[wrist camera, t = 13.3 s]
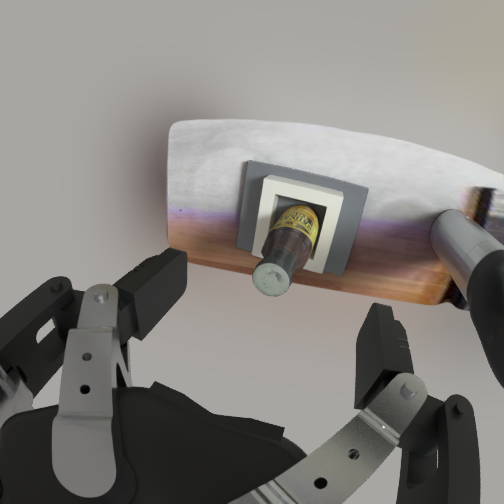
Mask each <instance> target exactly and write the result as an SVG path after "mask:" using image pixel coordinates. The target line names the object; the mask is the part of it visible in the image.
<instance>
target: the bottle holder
mask: <svg viewBox="0 0 504 504" xmlns="http://www.w3.org/2000/svg"><path fill="white" fill-rule="evenodd" d="M368 191H369V189H368V188H366V187H363V186H359V185H356V184H352V183H349V182H345V181H341V180H338V179H334V178H330V177H326V176H322V175H318V174H314V173H309V172H305V171H301V170H296V169H292V168H287V167H282V166H278V165H273V164H268V163H262V162H257V161H252V160H250V161H248V164H247V171H246V178H245V185H244V192H243V200H242V207H241V214H240V222H239V229H238V236H237V244H236V248H240V249H243V250H247V251H251V252H252V255H253V256H257V257H261V258H263V256H262V253H261V250H262V247H263V245H264V242H265V240H266V237H267V235H268V233H269V232H270V230H271V229H272V228H273V227H274V225H275V224H276V223H277V221H278V220H279V219H280V217H281V216H282V215H283V213H284V212H285V211H286V210H287V209H288V208H290V207H292V206H296V205H300V204H302V205H306V206H308V207H310V208H312V209H313V210H314V211H315V212H316V214H317V216H318V218H319V229H318V233H317V236H316V240H315V243H314V246H313V249H312V252H311V255H310V256H309V259H308V261H307V263H306V264H305V266H304V267H303V268H302V269H305V270H309V271H313V272H316V273H320V274H322V273H323V271H326V272H329V273H333V274H337V275H341V276H343V273H344V270H345V267H346V264H347V261H348V258H349V255H350V252H351V249H352V246H353V243H354V239H355V236H356V233H357V230H358V226H359V223H360V220H361V216H362V213H363V209H364V205H365V202H366V198H367V194H368Z"/></svg>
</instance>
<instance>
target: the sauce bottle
mask: <svg viewBox="0 0 504 504" xmlns="http://www.w3.org/2000/svg"><path fill="white" fill-rule="evenodd" d="M318 229H319V218H318V216H317V214H316V212H315V211H314V210H313V209H312V208H310V207H308V206H306V205H302V204H300V205H296V206H292V207H290V208H288V209H287V210H286V211H285V212H284V213H283V215H282V216H281V217H280V219H279V220H278V221H277V223H276V224H275V225H274V227H273V228H272V229H271V230H270V232H269V233H268V235H267V237H266V240H265V242H264V245H263V247H262V250H261V253H262V256H263V260H261V261H260V262H259V263H258V264H257V266H256V268H255V270H254V272H253V276H252V278H253V283H254V285H255V287H256V288H257V289H258V290H259V291H260V292H261V293H263V294H265V295H267V296H280V295H282V294H283V293H285V292H286V291H287V290H288V288H289V286H290V285H291V283H292V274H294V273H297V272H298V271H300V270H301V269H302V268H303V267H304V266H305V264H306V263H307V261H308V259H309V256H310V255H311V252H312V249H313V246H314V243H315V240H316V236H317V233H318Z"/></svg>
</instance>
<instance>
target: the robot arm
mask: <svg viewBox="0 0 504 504" xmlns="http://www.w3.org/2000/svg"><path fill="white" fill-rule="evenodd" d="M430 243H431V246H432V248H433V250H434V251H435V253H436V254H437V256H438V257H439V258H440V260H441V262H442V263H443V264H444V266H445V267H446V269H447V270H448V272H449V273H450V275H451V276H452V278H453V280H454V281H455V283H456V284H457V286H458V288H459V289H460V291H461V292H462V294H463V296H464V297H465V299H466V301H467V302H468V304H469V306H470V315H471V318H472V321H473V323H474V326H475V328H476V330H477V332H478V335H479V338H480V340H481V343H482V346H483V349H484V352H485V354H486V357H487V359H488V362H489V364H490V367H491V369H492V371H493V373H494V375H495V377H496V378H497V380H498V382H499V383H500V384H501V386H502V387H503V388H504V246H503V245H502V244H501V243H500V242H499V241H497V240H496V239H495V238H494V237H493V236H492V235H490V234H489V233H488V232H487V231H486V230H484V229H483V228H482V227H481V226H480V225H478V224H477V223H476V222H474V221H473V220H472V219H471V218H469V217H468V216H467V215H465V214H464V213H463V212H461V211H459V210H454V209H453V210H448V211H445V212H443V213H442V214H440V215H439V216H438V217H437V218H436V220H435V221H434V223H433V225H432V228H431V232H430ZM186 285H187V253H186V252H185V251H181V250H178V249H174V248H168V249H166V250H165V251H164V252H162V253H161V254H160V255H155V256H153V257H150V258H147V259H146V260H144V261H143V262H142V263H141V264H139V266H136V267H135V268H134V269H133V271H132V270H131V271H130V272H128V273H127V274H126V275H125V276H123V277H122V278H121V279H119V280H118V281H117V282H116V283H114V284H113V285H109V284H98V285H95V286H92V287H90V288H89V289H88V290H87V291H86V292H84V291H78V290H73V288H72V284H71V281H70V280H69V279H68V278H67V277H63V276H59V277H54V278H51V279H49V280H48V281H46V282H45V283H43V284H42V285H41V286H40V287H38V288H37V289H36V290H34V291H33V292H32V293H30V294H29V295H28V296H27V297H25V298H24V299H23V300H22V301H21V302H19V303H18V304H17V305H16V306H14V307H13V308H12V309H11V310H10V311H8V312H7V313H6V314H5V315H4V316H3V317H1V318H0V504H342V503H343V502H344V501H345V500H346V499H347V498H349V497H350V496H351V495H352V494H353V493H354V492H355V491H356V490H357V489H358V488H359V487H360V486H361V485H362V484H363V483H364V482H365V481H366V480H367V479H368V478H369V477H370V476H371V475H372V474H373V473H374V472H375V470H376V469H377V468H378V467H379V466H380V465H381V464H382V463H383V462H384V460H385V459H386V458H387V457H388V456H389V454H390V453H391V452H392V451H393V450H394V448H395V447H396V446H397V447H399V448H402V458H401V469H400V479H399V487H398V494H397V501H396V504H480V459H479V447H478V438H477V430H476V423H475V417H474V411H473V407H472V405H471V403H470V402H469V401H468V400H467V399H466V398H465V397H463V396H461V395H458V394H455V395H451V396H450V397H449V398H448V399H447V400H446V401H445V402H443V401H441V400H439V399H436V398H434V397H431V396H429V395H428V394H427V389H426V386H425V384H424V382H423V381H422V380H421V379H420V378H419V377H417V376H416V375H414V370H413V364H412V359H411V354H410V349H409V344H408V341H407V335H406V330H405V329H404V327H403V326H402V324H401V323H400V321H397V320H394V316H393V311H392V307H391V306H387V305H383V304H379V303H373V304H372V306H371V308H370V310H369V312H368V314H367V317H366V319H365V321H364V323H363V325H362V327H361V329H360V331H359V334H358V337H357V342H356V382H355V403H354V409H360V410H362V411H360V412H359V413H358V414H357V415H356V416H355V417H354V418H353V419H352V420H351V421H350V422H348V424H346V425H345V426H344V427H343V428H342V429H340V431H338V432H337V433H336V434H335V435H333V436H332V437H331V438H330V439H329V440H327V442H325V443H324V444H322V445H321V446H320V447H319V448H317V449H316V450H315V451H313V452H312V453H311V454H310V455H308V456H307V454H306V453H305V452H304V451H303V450H302V449H301V448H300V447H298V446H297V445H296V444H295V443H293V442H292V441H290V440H289V439H287V438H285V437H283V432H284V429H285V428H284V427H280V426H277V425H273V424H269V423H265V422H262V421H258V420H255V419H252V418H241V417H232V416H224V415H217V414H213V413H211V412H209V411H208V410H206V409H204V408H203V407H201V406H200V405H199V404H197V403H196V402H194V401H193V400H191V399H190V398H189V397H187V396H186V395H185V394H183V393H180V392H178V391H176V390H174V389H171V388H169V387H167V386H165V385H163V384H160V383H158V382H156V381H155V382H154V383H153V385H152V386H151V387H150V388H144V387H133V386H132V381H131V370H130V351H129V341H128V340H129V339H130V338H131V337H132V336H133V337H135V338H137V339H139V340H141V341H142V340H143V339H144V338H145V337H146V335H147V334H148V333H149V332H150V331H151V330H152V329H153V328H154V326H155V325H156V324H157V323H158V322H159V321H160V320H161V319H162V317H163V316H164V315H165V314H166V313H167V312H168V311H169V309H170V308H171V307H172V306H173V305H174V304H175V303H176V302H177V301H178V300H179V298H180V297H181V296H182V295H183V294H184V292H185V289H186ZM51 318H52V320H53V323H54V325H55V328H54V329H53V330H52V331H51V332H50V333H49V334H48V335H47V336H46V337H45V338H43V340H41V341H40V342H39V343H37V341H36V335H37V332H38V330H39V329H40V328H41V327H42V326H43V325H45V324H46V323H47V322H48V321H49V320H50V319H51ZM62 365H63V369H62V377H61V386H60V397H59V404H58V405H53V406H49V407H44V408H39V409H34V408H33V407H32V404H33V399H34V397H35V396H36V395H37V394H38V393H39V391H40V390H41V389H42V388H43V387H44V386H45V384H46V383H47V382H48V381H49V380H50V379H51V377H52V376H53V375H54V374H55V373H56V372H57V371H58V369H59V368H60V367H61V366H62ZM437 450H438V468H437Z"/></svg>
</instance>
